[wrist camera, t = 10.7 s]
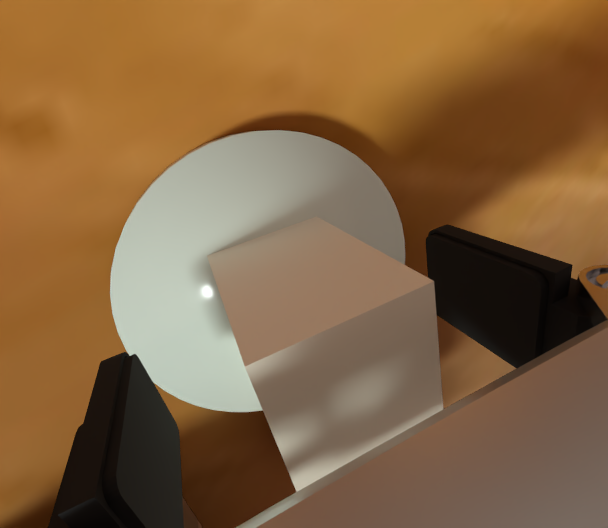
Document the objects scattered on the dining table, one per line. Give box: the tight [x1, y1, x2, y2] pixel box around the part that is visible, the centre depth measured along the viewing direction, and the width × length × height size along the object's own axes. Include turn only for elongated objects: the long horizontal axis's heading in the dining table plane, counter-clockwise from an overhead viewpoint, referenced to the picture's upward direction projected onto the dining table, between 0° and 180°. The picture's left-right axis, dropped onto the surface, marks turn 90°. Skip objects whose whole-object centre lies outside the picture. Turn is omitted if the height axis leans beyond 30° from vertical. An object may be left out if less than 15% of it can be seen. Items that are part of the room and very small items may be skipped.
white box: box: [207, 216, 443, 492], centre depth 11 cm, size 4×12×6 cm, turn 14°
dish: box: [110, 130, 405, 412], centre depth 13 cm, size 11×11×1 cm
